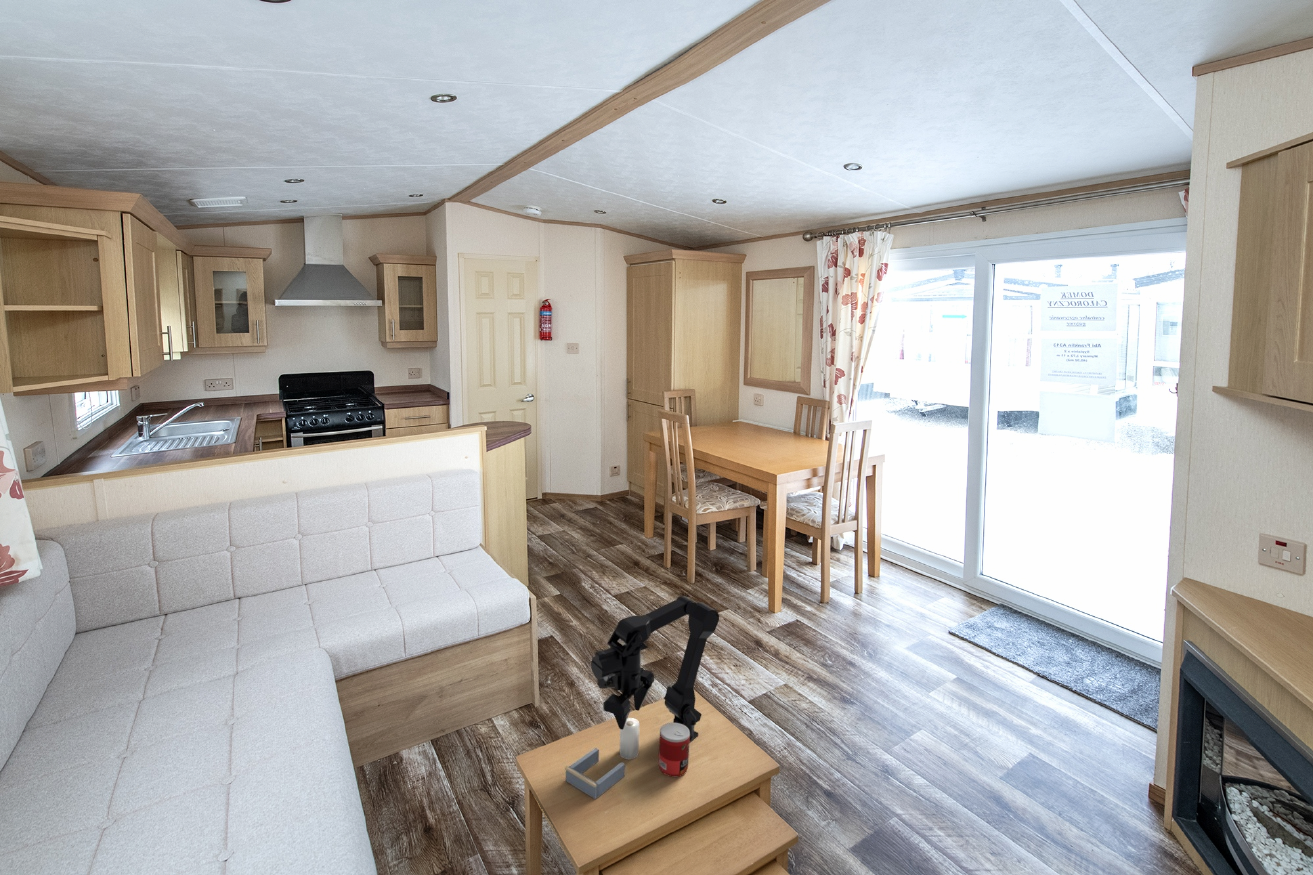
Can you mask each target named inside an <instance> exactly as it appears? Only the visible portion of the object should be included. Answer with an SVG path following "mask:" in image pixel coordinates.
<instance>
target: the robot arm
mask: <svg viewBox="0 0 1313 875" xmlns="http://www.w3.org/2000/svg"><path fill="white" fill-rule="evenodd" d="M685 616H688V618H687V619H688V621H687V624H688V628H689V637H688V640H687V642H686V643H687V644H686V647H685V650H684V654H683V658H682V661H681V665H680V668H679V673H678V676H677V679H676V682H675V683H673V684H672V685H668V686H667V687H666V692H665V695H664V697H663V700H664V706H665V707H666V709H668V712H669V713H671V714H673V716H674V717H673V719H672V720H673V722H672V723H680V724H682V725H684V726H686V727H687V728H688V729H689V732H690V742H689V744H690V743H691V742H692V741H693V740H694V739H695V738H697V737H698V736H699V732H697V731H696V730H695V726H696V724H697V723H698V722H700V721H701V718H702V716H703V714H702V713H701V712H700V711H698V710H697V709H696V707H695V705H696V699H697V698H696V693H695V688H694V687H695V683H696V680H697V675H698V672H699V670H700V665H701V662H702V658H703V653H704V651H705V647H706V643H707V640H708V638H709V637H710V636H712V635H713V633H715V631H716V629H717V626H718V623H719V621H720V614H719V613H718V611H717V610H716V609H714V608H713V607H711V606H710V605H708V604H706V603H704V602H701V601H699V602H694V601H693V600H692V599H690V598H688V596H685V595H680V596H678V597H676V599H675V600H673V601H671V602H669V603H667V604H664V605H663V606H660V607H659V608H656V609H654V610H652V611H650V612H648V613H646V614H642V615H631V616H628V617H624V618H622V619H620V620H619V621H618V623H617V625H616V627H615V629H614V631H613V633H612V634H611V635H610V637H609V640H608V641H607V643H606V644H607V646H609V647H608V648H607V649H604V650H598V651H596V652H594V656H593V657H592V658H591V661H590V668H591V672H592V674H593V676H594V677H595V678H596V680H597V682H596V684H597V687H598V688H599V689H600V690H601V689H604V690H605V689H607V688H613V690H614V691H616V692H618V691H619V692H620V693H621V694H620V695H618V694H615V693H612V694H610V695H609V696H608V697H607V698H606V699H605V700H604V701H603V703H602V710H603V711H604V712H606V713H610V714H612V715H613V716H614V719H615V721H616V723H617V726H618V729H619V730H620V729H622V730H623V729H624V726H625V724H626V721H627V718H629V715H630V712H631V701H630V699H631V698H633V703H634V710H635V711H640V709H641V707H642V705H643V703H644V701H645V699H646V697H647V695H648V693H649V692H650V689H651V687H652V685H653V683H655V674H654V673H653V671H651V670H648V669H644V668H643V667H641V664H642V663H641V658H642V657H641V656H642V655H641V654H642V653H641V652H642V651H643V650H646V649H648V648H649V646H648V645H647V644H646V643H645V642H646V641H648V640H649V638H650V637H651V635H652V633H653V634H654V632H656V631H657V630H660V629H661V628H664V627H666V626H667V625H670V624H671V623H674V622H675V621H677V620H679V619H681V618H683V617H685ZM619 640H620V641H622V642H623V643H624V644H622V643H620V642H619Z"/></svg>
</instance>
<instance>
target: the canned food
mask: <svg viewBox="0 0 1313 875" xmlns="http://www.w3.org/2000/svg"><path fill="white" fill-rule="evenodd" d="M689 742H690V732H689V729H688V728H687V727H686V726H684V725H682V724H680V723H673V722H667V723H665V724H663V725H662V726H661V727H660V730H659V742H658V743H659V744H658V746H659V748H658V749H659V750H658V767H659V770H660V771H661V773H663V774H664V775H665V776H668V775H669V777H672V776H678V777H681V776H683V775H685V774H686V773H687V771H688V769H689V758H690V757H689V756H690V743H691V742H690V743H689ZM685 772H686V773H685ZM684 773H685V774H684ZM680 775H681V776H680Z"/></svg>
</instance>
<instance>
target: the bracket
mask: <svg viewBox="0 0 1313 875" xmlns="http://www.w3.org/2000/svg"><path fill="white" fill-rule="evenodd" d="M599 751H600V750H599V748H597V747H594V748H593V749H592V750H590V751H589V752H587V753H586V754H584V755H583V756H581V758H579V759H578V760H576V761H575V762H573V763H572V764H570V765H569V766H567V765H566V766H565V767H564V770H565V782H567V783H569V784H570V785H572V786H573V787H575V788H576V789H578V790H580V791H581V792H583V793H584V794H586V795H588V796H589V797H590V798H592V799H594V800H597V799H598V798H599V797H600V796H602V795H603V794H604V793H605V792H607V791H608V790H609V789H610V788H611V787H613V786H614V785H615V784H617V783H618V782H620V781H621V780H622V779H623V778H624V777H625V773H626V770H625V769H626V768H625V767H626V764H625V763H624V762H623V761H622V762H619V763H618V764H617V765H616V766H615V767H613V768H612V769H611V770H609V771H607V773H605V774H604V775H603V776H601V777H600V778H599V779H598V780H596V781H594V780H592V779H591V778H589V777H588V776H585V775H584V774H583V773H585V772H586V771H587V770H589V769H590V768H592V767H593V766H594V765H595V764H597V763H598V762H599V761H600V760H599V758H600V755H599V754H600V752H599Z"/></svg>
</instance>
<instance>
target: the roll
mask: <svg viewBox="0 0 1313 875" xmlns="http://www.w3.org/2000/svg"><path fill="white" fill-rule="evenodd" d="M639 743H640V722H639V720H638V719H636V718H632V717H628V718H627V721H626V724H625V726H624V729H623V730H622V729H619V756H620V758H623V759H626V760H633V759H635V758H637V757H638V755H639V749H640V748H639V747H640V744H639Z"/></svg>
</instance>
